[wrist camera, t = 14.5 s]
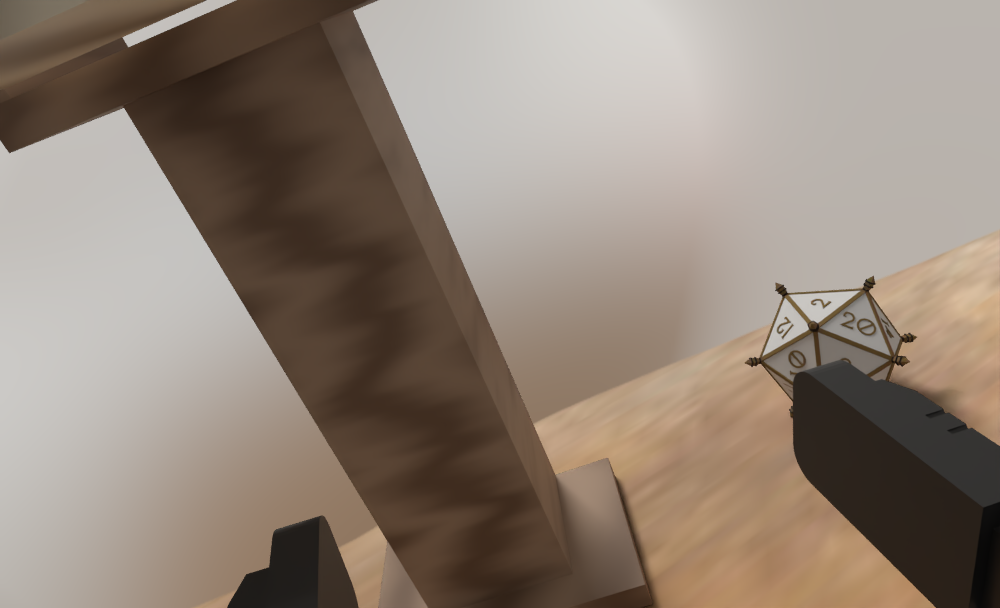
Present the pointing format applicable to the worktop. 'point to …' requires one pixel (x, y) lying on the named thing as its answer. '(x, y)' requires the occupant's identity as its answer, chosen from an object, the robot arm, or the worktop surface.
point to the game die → (830, 335)
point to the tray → (69, 30)
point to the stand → (356, 296)
